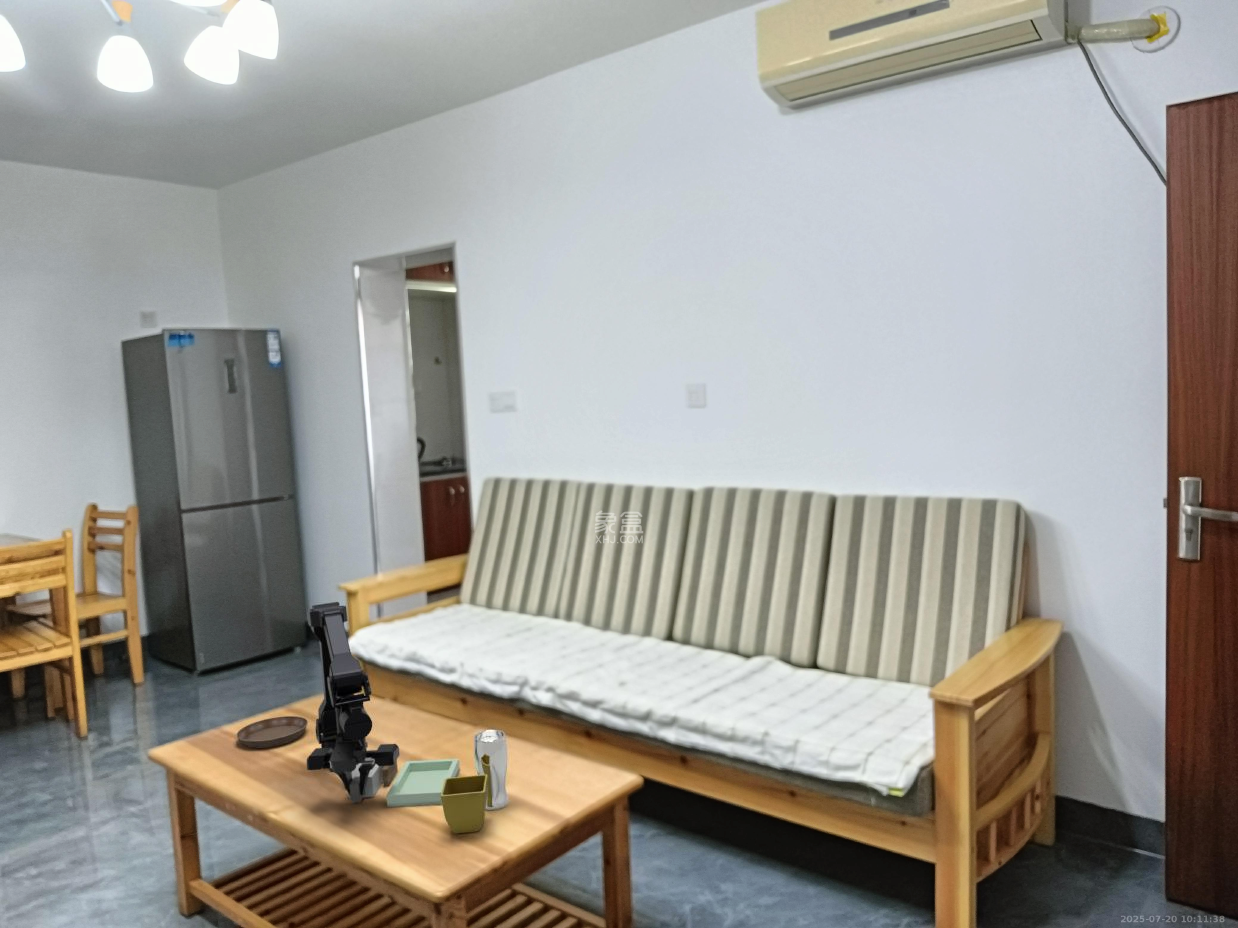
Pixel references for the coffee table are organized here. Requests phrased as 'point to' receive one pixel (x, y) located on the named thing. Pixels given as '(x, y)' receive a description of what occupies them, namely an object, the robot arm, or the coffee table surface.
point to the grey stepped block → (371, 785)
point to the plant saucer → (272, 731)
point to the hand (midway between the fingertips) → (356, 794)
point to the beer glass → (492, 765)
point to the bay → (389, 774)
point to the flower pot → (464, 802)
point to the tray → (421, 782)
